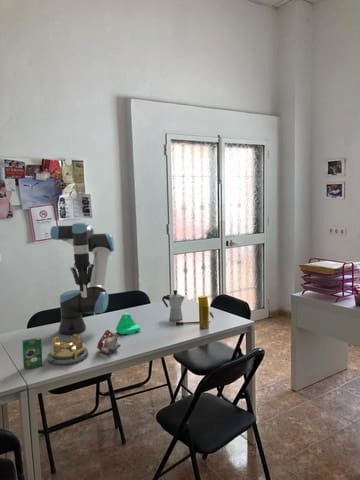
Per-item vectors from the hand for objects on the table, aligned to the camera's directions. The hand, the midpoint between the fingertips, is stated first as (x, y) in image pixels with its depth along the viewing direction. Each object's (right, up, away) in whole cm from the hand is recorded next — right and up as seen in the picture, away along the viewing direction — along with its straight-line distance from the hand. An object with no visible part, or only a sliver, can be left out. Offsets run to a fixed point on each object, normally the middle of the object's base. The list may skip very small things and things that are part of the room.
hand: (84, 296), depth 205 cm
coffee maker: (+47, -19, +39) cm, 64 cm away
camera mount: (+21, -23, +17) cm, 35 cm away
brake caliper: (+15, -26, -11) cm, 32 cm away
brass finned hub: (-4, -24, -17) cm, 30 cm away
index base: (-4, -27, -16) cm, 32 cm away
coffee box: (-17, -28, -26) cm, 42 cm away
